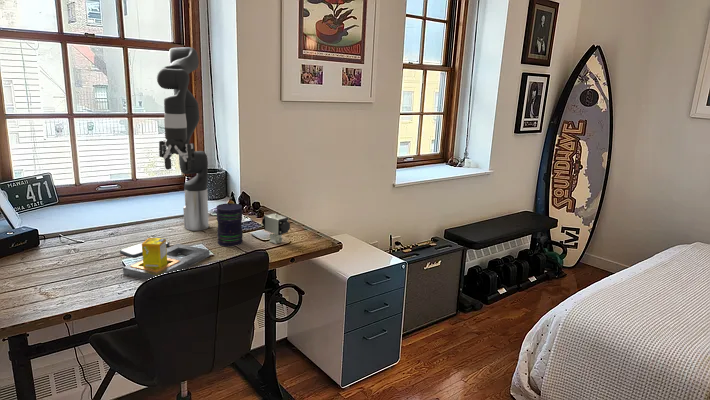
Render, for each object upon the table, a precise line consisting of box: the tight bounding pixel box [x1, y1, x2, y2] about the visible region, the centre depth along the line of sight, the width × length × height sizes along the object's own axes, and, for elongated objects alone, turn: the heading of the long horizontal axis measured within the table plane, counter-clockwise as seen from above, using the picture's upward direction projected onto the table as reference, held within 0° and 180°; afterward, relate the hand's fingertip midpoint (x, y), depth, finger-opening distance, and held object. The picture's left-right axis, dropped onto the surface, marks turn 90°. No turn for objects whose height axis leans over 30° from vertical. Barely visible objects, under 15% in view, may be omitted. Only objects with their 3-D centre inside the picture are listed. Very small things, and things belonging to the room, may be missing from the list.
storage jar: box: [216, 202, 244, 248], centre depth 191 cm, size 10×10×15 cm
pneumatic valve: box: [261, 212, 291, 245], centre depth 194 cm, size 6×12×12 cm, turn 53°
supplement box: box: [141, 237, 167, 270], centre depth 161 cm, size 6×6×11 cm
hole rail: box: [122, 243, 210, 281], centre depth 168 cm, size 14×26×3 cm, turn 159°
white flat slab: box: [119, 241, 170, 258], centre depth 182 cm, size 9×2×16 cm
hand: (177, 170), depth 178 cm, fingers open, 8 cm apart
